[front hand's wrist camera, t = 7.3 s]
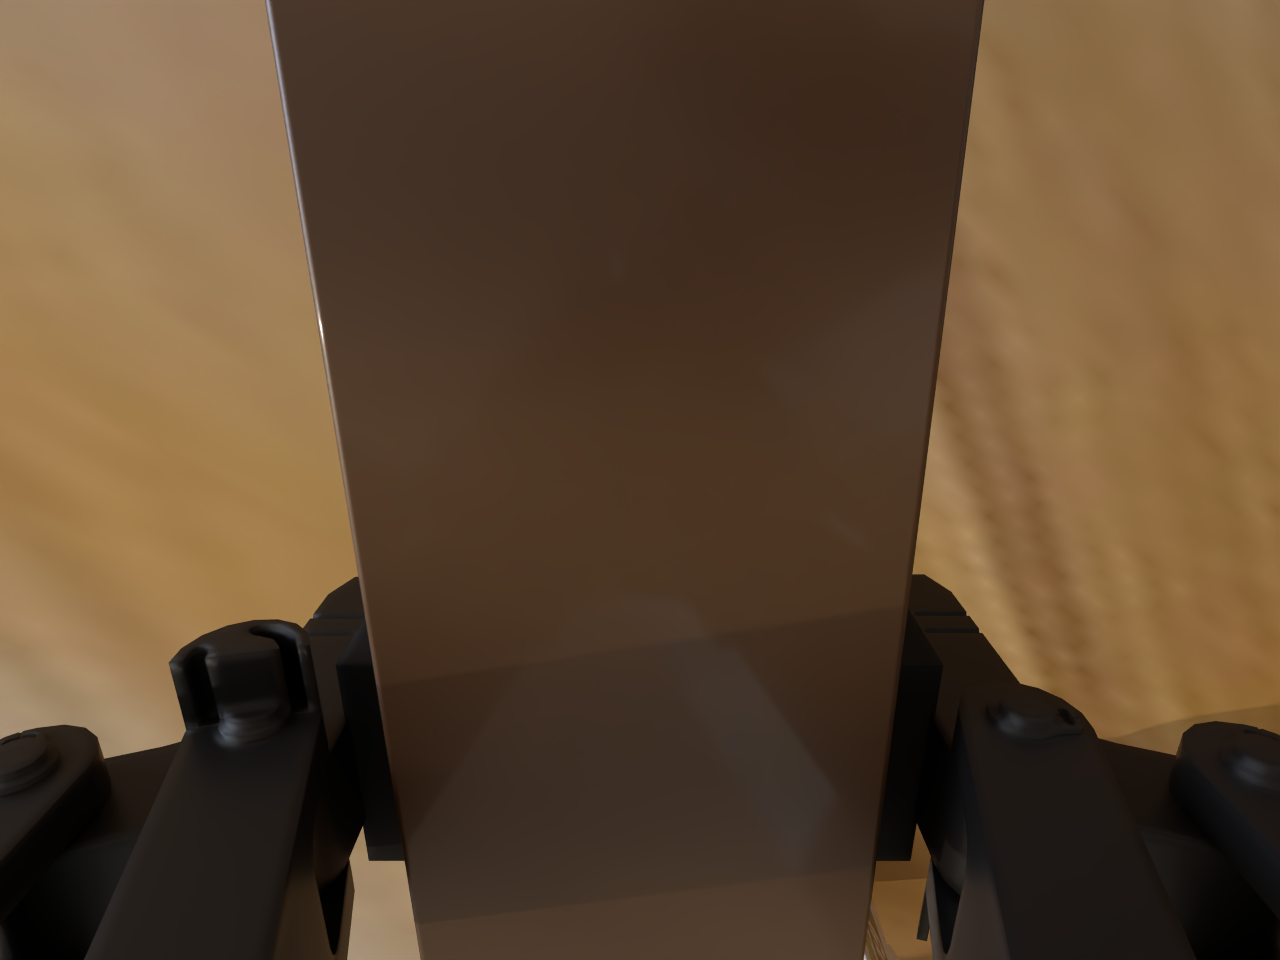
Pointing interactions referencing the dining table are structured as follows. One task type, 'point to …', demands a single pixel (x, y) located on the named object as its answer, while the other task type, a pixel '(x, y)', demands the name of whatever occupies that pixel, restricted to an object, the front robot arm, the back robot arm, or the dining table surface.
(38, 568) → the dining table surface
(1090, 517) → the dining table surface
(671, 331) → the bar
